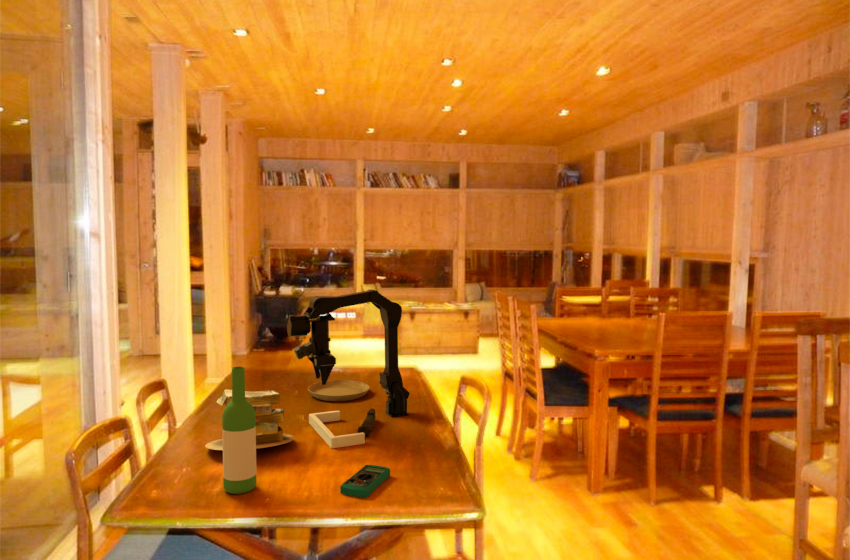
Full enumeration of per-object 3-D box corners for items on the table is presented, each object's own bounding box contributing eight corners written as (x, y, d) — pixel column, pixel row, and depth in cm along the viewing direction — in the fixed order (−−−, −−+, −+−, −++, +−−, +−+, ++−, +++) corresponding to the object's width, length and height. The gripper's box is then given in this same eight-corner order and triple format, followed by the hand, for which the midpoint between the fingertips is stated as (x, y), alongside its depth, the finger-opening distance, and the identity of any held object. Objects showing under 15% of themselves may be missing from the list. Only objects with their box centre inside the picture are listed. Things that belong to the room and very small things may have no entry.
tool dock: (338, 419, 203) (338, 410, 203) (364, 443, 179) (364, 433, 178) (308, 422, 199) (308, 413, 199) (331, 448, 174) (331, 438, 174)
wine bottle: (218, 495, 142) (216, 371, 140) (229, 482, 150) (227, 364, 148) (251, 495, 142) (249, 371, 140) (260, 482, 150) (258, 364, 148)
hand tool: (369, 439, 183) (370, 424, 183) (357, 438, 184) (357, 423, 184) (381, 421, 202) (381, 407, 202) (369, 420, 203) (370, 407, 202)
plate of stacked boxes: (211, 437, 184) (210, 383, 183) (293, 431, 190) (293, 379, 189) (200, 466, 160) (199, 405, 159) (295, 459, 166) (294, 400, 165)
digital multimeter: (338, 496, 143) (338, 484, 143) (365, 473, 157) (365, 462, 157) (366, 500, 140) (366, 488, 140) (391, 477, 154) (391, 466, 154)
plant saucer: (380, 397, 232) (380, 389, 232) (323, 406, 219) (323, 398, 219) (352, 385, 252) (352, 377, 252) (298, 392, 239) (298, 384, 238)
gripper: (290, 332, 201) (291, 377, 202) (300, 340, 184) (301, 390, 185) (323, 330, 205) (323, 374, 206) (336, 338, 188) (336, 387, 189)
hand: (320, 381), depth 197 cm, fingers open, 9 cm apart
